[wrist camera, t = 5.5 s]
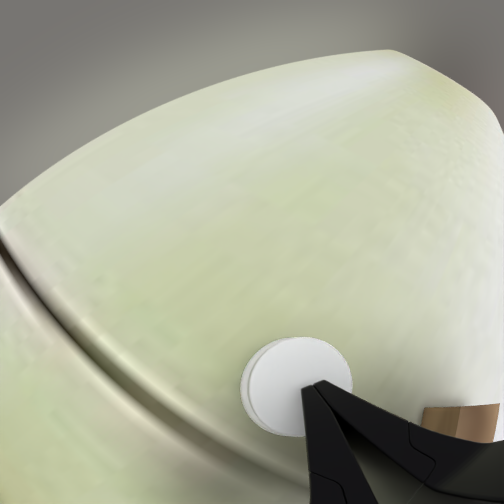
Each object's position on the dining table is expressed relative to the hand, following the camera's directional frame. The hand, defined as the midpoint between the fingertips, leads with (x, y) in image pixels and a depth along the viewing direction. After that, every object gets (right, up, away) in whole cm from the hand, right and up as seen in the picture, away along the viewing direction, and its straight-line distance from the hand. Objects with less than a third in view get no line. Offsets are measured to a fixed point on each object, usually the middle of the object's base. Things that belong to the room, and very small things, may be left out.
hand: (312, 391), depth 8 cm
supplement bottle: (0, -4, +9) cm, 10 cm away
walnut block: (+12, -10, +6) cm, 17 cm away
